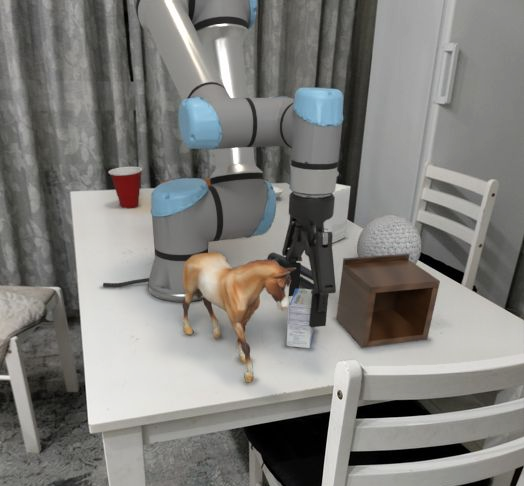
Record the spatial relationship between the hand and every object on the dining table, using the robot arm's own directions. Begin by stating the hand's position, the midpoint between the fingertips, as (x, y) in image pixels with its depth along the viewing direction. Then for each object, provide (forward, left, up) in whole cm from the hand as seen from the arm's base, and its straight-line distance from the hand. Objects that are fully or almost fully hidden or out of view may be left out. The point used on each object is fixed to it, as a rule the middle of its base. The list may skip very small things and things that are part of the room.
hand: (303, 309), depth 97 cm
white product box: (+28, +56, -6) cm, 63 cm away
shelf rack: (+17, 0, -6) cm, 18 cm away
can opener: (+8, +26, -6) cm, 28 cm away
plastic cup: (-25, +100, -6) cm, 104 cm away
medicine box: (0, 0, -6) cm, 6 cm away
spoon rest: (+18, +103, -6) cm, 105 cm away
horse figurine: (-13, 0, -6) cm, 15 cm away
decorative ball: (+31, +25, -6) cm, 40 cm away
